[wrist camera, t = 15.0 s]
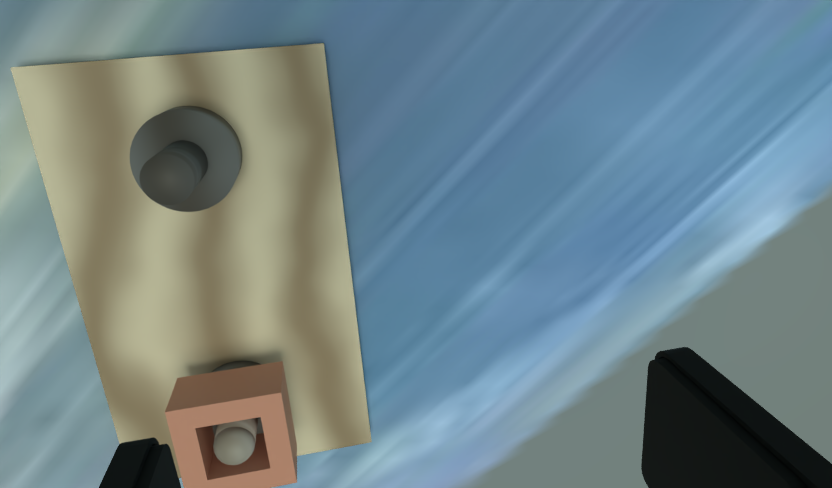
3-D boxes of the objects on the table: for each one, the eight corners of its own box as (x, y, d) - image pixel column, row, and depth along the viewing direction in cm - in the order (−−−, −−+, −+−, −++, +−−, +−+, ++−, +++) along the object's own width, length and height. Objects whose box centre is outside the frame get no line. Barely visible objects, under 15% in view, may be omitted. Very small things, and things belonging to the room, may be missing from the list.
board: (322, 43, 38) (330, 41, 29) (369, 430, 48) (385, 517, 39) (21, 66, 35) (-71, 72, 26) (137, 472, 45) (97, 576, 36)
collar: (282, 360, 41) (281, 392, 37) (296, 444, 43) (296, 482, 39) (177, 377, 39) (164, 412, 36) (197, 462, 42) (188, 503, 38)
